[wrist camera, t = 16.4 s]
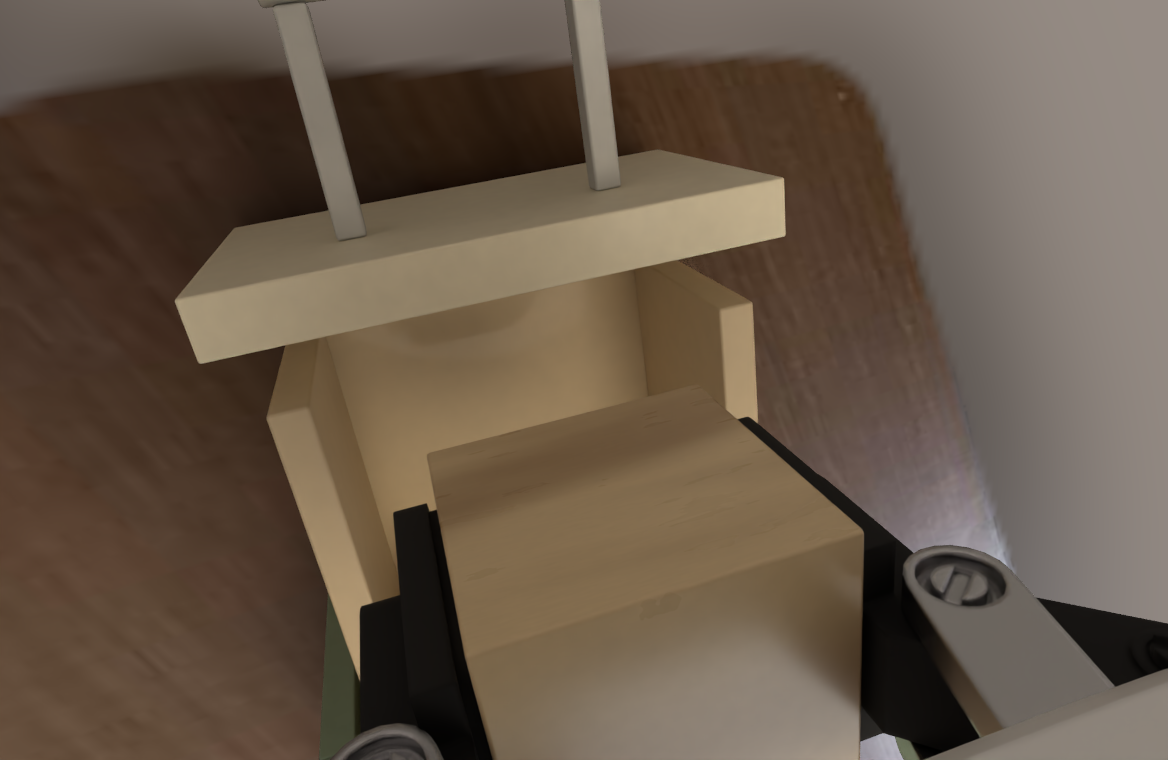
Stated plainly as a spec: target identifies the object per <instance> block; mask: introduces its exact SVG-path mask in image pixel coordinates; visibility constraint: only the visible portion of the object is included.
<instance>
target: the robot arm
mask: <svg viewBox="0 0 1168 760" xmlns="http://www.w3.org/2000/svg"><path fill="white" fill-rule="evenodd" d="M737 420H739V421H740V422H741V423H742V424H743V425H744V426H745V427H747V428H748V429H749V430H750V431H751V432H752V433H753V434H754V435H756V436H757V437H758V438H759V439H760V440H761V441H762V442H764V443H765V444H766V445H767V446H768V447H769V448H770V449H772V450H773V451H774V452H775V453H776V454H777V455H778V456H780V457H781V458H782V459H783V460H784V461H785V462H786V463H787V464H789V465H790V466H791V467H792V468H793V469H794V470H795V471H797V472H798V473H799V474H800V475H801V476H802V477H803V478H805V479H806V480H807V481H808V482H809V483H810V484H811V485H813V486H814V487H815V488H816V489H817V490H818V491H819V492H820V493H822V494H823V495H824V496H825V497H826V498H827V499H828V500H830V501H831V502H832V503H833V504H834V505H835V506H836V507H838V508H839V509H840V510H841V511H842V512H843V513H844V514H846V515H847V516H848V517H849V518H850V519H851V520H852V521H853V522H855V523H856V524H857V525H858V526H859V527H860V528H861V529H862V530H863V532H864V566H863V618H862V670H861V723H860V741H863V740H866V739H868V738H871V737H874V736H876V735H879V734H882V733H885V734H888V735H892V736H895V739H896V742H897V745H898V748H899V751H900V753H901V755H902V757H903V759H904V760H1168V624H1167V623H1162V622H1157V621H1151V620H1147V619H1142V618H1136V617H1132V616H1126V615H1121V614H1116V613H1111V612H1106V611H1101V610H1096V609H1091V608H1086V607H1081V606H1076V605H1071V604H1066V603H1061V602H1056V601H1051V600H1046V599H1040V598H1036V597H1035V596H1034V595H1033V594H1032V593H1031V592H1030V591H1029V590H1028V588H1027V587H1026V586H1025V585H1024V584H1023V583H1022V582H1021V580H1020V579H1019V578H1018V577H1017V576H1016V575H1015V574H1014V573H1013V572H1012V570H1010V569H1009V568H1008V567H1007V566H1006V565H1005V564H1003V563H1002V562H1001V561H1000V560H998V559H996V558H994V557H992V556H990V555H988V554H986V553H984V552H981V551H977V550H974V549H971V548H967V547H960V546H953V545H944V546H932V547H928V548H924V549H920V550H919V551H917V552H915V553H913V552H912V551H911V550H909V549H908V548H907V547H906V546H905V545H903V544H902V543H901V542H900V541H899V540H898V539H896V538H895V537H894V536H893V535H892V534H890V533H889V532H888V531H887V530H886V529H884V528H883V527H882V526H881V525H880V524H879V523H877V522H876V521H875V520H874V519H873V518H871V517H870V516H869V515H868V514H867V513H865V512H864V511H863V510H862V509H861V508H860V507H858V506H857V505H856V504H855V503H854V502H852V501H851V500H850V499H849V498H848V497H846V496H845V495H844V494H843V493H842V492H841V491H839V490H838V489H837V488H836V487H835V486H833V485H832V484H831V483H830V482H829V481H827V480H826V479H825V478H823V477H822V476H820V475H818V474H817V473H815V472H814V471H813V470H812V469H811V468H810V467H808V466H807V465H806V464H805V463H804V462H802V461H801V460H800V459H799V458H798V457H797V456H795V455H794V454H793V453H792V452H791V451H789V450H788V449H787V448H786V447H785V446H784V445H782V444H781V443H780V442H779V441H778V440H776V439H775V438H774V437H773V436H772V435H771V434H769V433H768V432H767V431H766V430H765V429H763V428H762V427H761V426H760V425H759V424H758V423H756V422H755V421H754V420H753V419H752V418H750V417H744V418H740V419H737ZM393 519H394V531H395V543H396V554H397V566H398V577H399V589H400V595H398V596H394V597H391V598H388V599H384V600H381V601H377V602H374V603H371V604H367V605H364V606H361V608H360V735H358V736H357V737H355V738H354V739H352V740H351V741H349V742H347V743H346V744H345V745H344V746H343V747H342V748H341V749H340V750H339V751H338V752H337V753H336V754H335V755H334V756H333V757H332V758H331V759H330V760H493V759H492V756H491V752H490V748H489V744H488V741H487V737H486V733H485V730H484V726H483V722H482V719H481V715H480V711H479V708H478V704H477V700H476V696H475V693H474V689H473V685H472V682H471V678H470V674H469V671H468V667H467V663H466V659H465V655H464V650H463V645H462V639H461V634H460V629H459V624H458V618H457V613H456V608H455V603H454V597H453V592H452V587H451V582H450V576H449V571H448V566H447V561H446V555H445V550H444V545H443V540H442V534H441V529H440V524H439V519H438V513H437V510H433V511H429V508H428V505H427V503H425V504H421V505H418V506H414V507H410V508H407V509H403V510H399V511H395V512H393Z"/></svg>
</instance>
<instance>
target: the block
mask: <svg viewBox="0 0 1168 760" xmlns="http://www.w3.org/2000/svg"><path fill="white" fill-rule="evenodd" d="M427 461H428V466H429V471H430V476H431V482H432V487H433V492H434V498H435V503H436V508H437V513H438V519H439V524H440V529H441V534H442V540H443V545H444V550H445V555H446V561H447V566H448V571H449V576H450V582H451V587H452V592H453V597H454V603H455V608H456V613H457V618H458V624H459V629H460V634H461V639H462V645H463V650H464V655H465V659H466V663H467V667H468V671H469V674H470V678H471V682H472V685H473V689H474V693H475V696H476V700H477V704H478V708H479V711H480V715H481V719H482V722H483V726H484V730H485V733H486V737H487V741H488V744H489V748H490V752H491V756H492V759H493V760H860V723H861V670H862V618H863V566H864V532H863V530H862V529H861V528H860V527H859V526H858V525H857V524H856V523H855V522H853V521H852V520H851V519H850V518H849V517H848V516H847V515H846V514H844V513H843V512H842V511H841V510H840V509H839V508H838V507H836V506H835V505H834V504H833V503H832V502H831V501H830V500H828V499H827V498H826V497H825V496H824V495H823V494H822V493H820V492H819V491H818V490H817V489H816V488H815V487H814V486H813V485H811V484H810V483H809V482H808V481H807V480H806V479H805V478H803V477H802V476H801V475H800V474H799V473H798V472H797V471H795V470H794V469H793V468H792V467H791V466H790V465H789V464H787V463H786V462H785V461H784V460H783V459H782V458H781V457H780V456H778V455H777V454H776V453H775V452H774V451H773V450H772V449H770V448H769V447H768V446H767V445H766V444H765V443H764V442H762V441H761V440H760V439H759V438H758V437H757V436H756V435H754V434H753V433H752V432H751V431H750V430H749V429H748V428H747V427H745V426H744V425H743V424H742V423H741V422H740V421H739V420H737V419H736V418H735V417H734V416H733V415H732V414H731V413H729V412H728V411H727V410H726V409H725V408H724V407H723V406H721V405H720V404H719V403H718V402H717V401H716V400H715V399H713V398H712V397H711V396H710V395H709V394H708V393H707V392H706V391H704V390H703V389H702V388H701V387H700V386H699V385H692V386H688V387H684V388H680V389H676V390H672V391H668V392H664V393H661V394H657V395H653V396H649V397H645V398H641V399H637V400H633V401H629V402H625V403H622V404H618V405H614V406H610V407H606V408H602V409H598V410H594V411H590V412H586V413H583V414H579V415H575V416H571V417H567V418H563V419H559V420H555V421H551V422H547V423H544V424H540V425H536V426H532V427H528V428H524V429H520V430H516V431H512V432H508V433H505V434H501V435H497V436H493V437H489V438H485V439H481V440H477V441H473V442H469V443H466V444H462V445H458V446H454V447H450V448H446V449H442V450H438V451H434V452H430V453H428V454H427Z"/></svg>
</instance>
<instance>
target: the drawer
mask: <svg viewBox="0 0 1168 760" xmlns="http://www.w3.org/2000/svg"><path fill="white" fill-rule="evenodd" d="M316 1H324V0H258V2H259V4H260V5H261V7H263V8H269V7H273V13H274V16H275V20H276V23H277V27H278V30H279V34H280V38H281V41H282V44H283V48H284V52H285V56H286V59H287V63H288V66H289V70H290V73H291V77H292V81H293V84H294V88H295V91H296V95H297V98H298V102H299V106H300V109H301V113H302V116H303V120H304V124H305V127H306V131H307V134H308V138H309V141H310V145H311V149H312V152H313V156H314V159H315V163H316V166H317V170H318V174H319V177H320V181H321V184H322V188H323V192H324V195H325V199H326V202H327V206H328V209H329V210H328V211H323V212H318V213H312V214H307V215H301V216H296V217H291V218H285V219H280V220H274V221H269V222H264V223H258V224H253V225H247V226H242V227H237V228H234V229H233V230H232V231H231V233H230V234H229V235H228V236H227V237H226V239H225V240H224V241H223V242H222V243H221V245H220V246H219V247H218V248H217V250H216V251H215V252H214V253H213V254H212V256H211V257H210V258H209V259H208V260H207V262H206V263H205V264H204V265H203V266H202V268H201V269H200V270H199V271H198V273H197V274H196V275H195V276H194V277H193V279H192V280H191V281H190V282H189V283H188V285H187V286H186V287H185V288H184V289H183V291H182V292H181V293H180V294H179V296H178V297H177V298H176V299H175V304H176V306H177V309H178V311H179V314H180V317H181V319H182V322H183V324H184V327H185V330H186V332H187V335H188V337H189V340H190V343H191V345H192V348H193V350H194V353H195V356H196V358H197V361H198V362H199V363H200V364H203V363H207V362H212V361H216V360H221V359H225V358H230V357H235V356H239V355H244V354H248V353H253V352H257V351H262V350H267V349H271V348H276V347H280V346H285V349H284V353H283V357H282V360H281V364H280V368H279V372H278V376H277V379H276V383H275V387H274V391H273V394H272V398H271V402H270V406H269V409H268V413H267V418H266V419H267V422H268V424H269V427H270V430H271V433H272V436H273V438H274V441H275V444H276V447H277V450H278V453H279V455H280V458H281V461H282V464H283V467H284V469H285V472H286V475H287V478H288V481H289V484H290V486H291V489H292V492H293V495H294V498H295V500H296V503H297V506H298V509H299V512H300V515H301V517H302V520H303V523H304V526H305V529H306V531H307V534H308V537H309V540H310V543H311V546H312V548H313V551H314V554H315V557H316V560H317V562H318V565H319V568H320V571H321V574H322V576H323V579H324V582H325V585H326V588H327V591H328V593H329V596H330V599H331V602H332V605H333V607H334V610H335V613H336V616H337V619H338V622H339V624H340V627H341V630H342V633H343V636H344V638H345V641H346V644H347V647H348V650H349V653H350V655H351V658H352V661H353V664H354V667H355V669H356V672H357V675H358V678H359V681H360V608H361V606H364V605H367V604H371V603H374V602H377V601H381V600H384V599H388V598H391V597H394V596H398V595H400V589H399V577H398V566H397V554H396V543H395V531H394V519H393V512H395V511H399V510H403V509H407V508H410V507H414V506H418V505H421V504H425V503H427V505H428V508H429V511H433V510H437V508H436V503H435V498H434V492H433V487H432V482H431V476H430V471H429V466H428V461H427V454H428V453H430V452H434V451H438V450H442V449H446V448H450V447H454V446H458V445H462V444H466V443H469V442H473V441H477V440H481V439H485V438H489V437H493V436H497V435H501V434H505V433H508V432H512V431H516V430H520V429H524V428H528V427H532V426H536V425H540V424H544V423H547V422H551V421H555V420H559V419H563V418H567V417H571V416H575V415H579V414H583V413H586V412H590V411H594V410H598V409H602V408H606V407H610V406H614V405H618V404H622V403H625V402H629V401H633V400H637V399H641V398H645V397H649V396H653V395H657V394H661V393H664V392H668V391H672V390H676V389H680V388H684V387H688V386H692V385H699V386H700V387H701V388H702V389H703V390H704V391H706V392H707V393H708V394H709V395H710V396H711V397H712V398H713V399H715V400H716V401H717V402H718V403H719V404H720V405H721V406H723V407H724V408H725V409H726V410H727V411H728V412H729V413H731V414H732V415H733V416H734V417H735V418H736V419H740V418H744V417H750V418H752V419H753V420H754V421H755V422H756V423H758V411H757V389H756V368H755V346H754V325H753V304H752V302H751V301H749V300H747V299H746V298H744V297H742V296H740V295H738V294H737V293H735V292H733V291H731V290H729V289H728V288H726V287H724V286H722V285H721V284H719V283H717V282H715V281H713V280H712V279H710V278H708V277H706V276H704V275H703V274H701V273H699V272H697V271H695V270H694V269H692V268H690V267H688V266H686V265H685V264H683V263H681V262H679V261H677V260H679V259H683V258H688V257H692V256H697V255H702V254H706V253H711V252H715V251H720V250H724V249H729V248H734V247H738V246H743V245H747V244H752V243H756V242H761V241H766V240H770V239H775V238H779V237H784V236H785V197H784V178H782V177H778V176H773V175H769V174H765V173H760V172H756V171H751V170H747V169H742V168H738V167H734V166H729V165H725V164H720V163H716V162H711V161H707V160H702V159H698V158H694V157H689V156H685V155H680V154H676V153H671V152H667V151H663V150H653V151H647V152H642V153H636V154H631V155H626V156H620V157H618V152H617V144H616V135H615V126H614V118H613V109H612V100H611V92H610V83H609V74H608V66H607V57H606V49H605V40H604V31H603V22H602V14H601V5H600V0H565V7H566V15H567V23H568V30H569V38H570V45H571V53H572V60H573V68H574V76H575V83H576V91H577V98H578V106H579V113H580V121H581V128H582V136H583V143H584V151H585V158H586V163H582V164H577V165H572V166H566V167H561V168H555V169H550V170H545V171H539V172H534V173H528V174H523V175H518V176H512V177H507V178H501V179H496V180H491V181H485V182H480V183H474V184H469V185H464V186H458V187H453V188H447V189H442V190H437V191H431V192H426V193H420V194H415V195H410V196H404V197H399V198H393V199H388V200H383V201H377V202H372V203H366V204H361V205H360V202H359V199H358V195H357V191H356V187H355V183H354V179H353V176H352V172H351V168H350V164H349V160H348V156H347V153H346V149H345V145H344V141H343V137H342V133H341V130H340V126H339V122H338V118H337V114H336V110H335V107H334V103H333V99H332V95H331V91H330V88H329V84H328V80H327V76H326V72H325V68H324V65H323V61H322V57H321V53H320V49H319V45H318V42H317V38H316V34H315V30H314V26H313V23H312V19H311V15H310V11H309V8H308V6H307V4H306V3H308V2H316Z"/></svg>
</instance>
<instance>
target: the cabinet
mask: <svg viewBox="0 0 1168 760" xmlns="http://www.w3.org/2000/svg"><path fill="white" fill-rule="evenodd" d="M358 735H360V681H359V678H358V675H357V672H356V669H355V667H354V664H353V661H352V658H351V655H350V653H349V650H348V647H347V644H346V641H345V638H344V636H343V633H342V630H341V627H340V624H339V622H338V619H337V616H336V613H335V610H334V607H333V605H332V602H331V599H330V596H329V593H328V603H327V621H326V640H325V659H324V677H323V696H322V714H321V733H320V751H319V760H330V759H331V758H332V757H333V756H334V755H335V754H336V753H337V752H338V751H339V750H340V749H341V748H342V747H343V746H344V745H345V744H346V743H347V742H349V741H351V740H352V739H354V738H355V737H357V736H358Z"/></svg>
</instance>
